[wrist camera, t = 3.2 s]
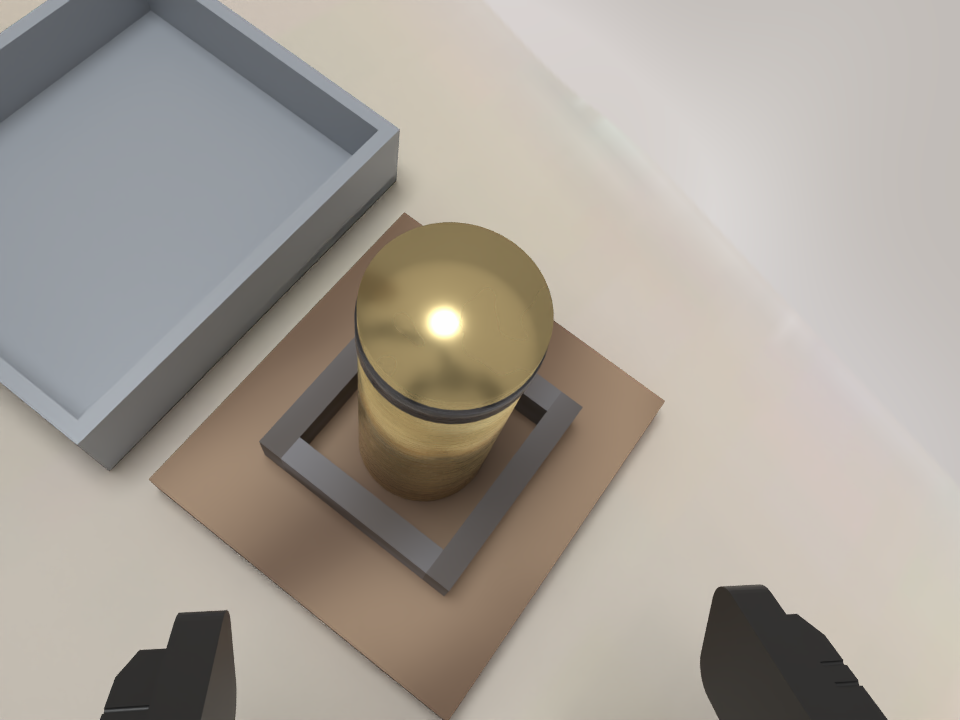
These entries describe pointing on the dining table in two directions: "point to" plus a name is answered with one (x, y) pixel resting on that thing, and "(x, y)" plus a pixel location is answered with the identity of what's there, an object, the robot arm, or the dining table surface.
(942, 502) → the dining table surface
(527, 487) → the pin dock
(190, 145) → the tray
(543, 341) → the pin
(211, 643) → the robot arm
